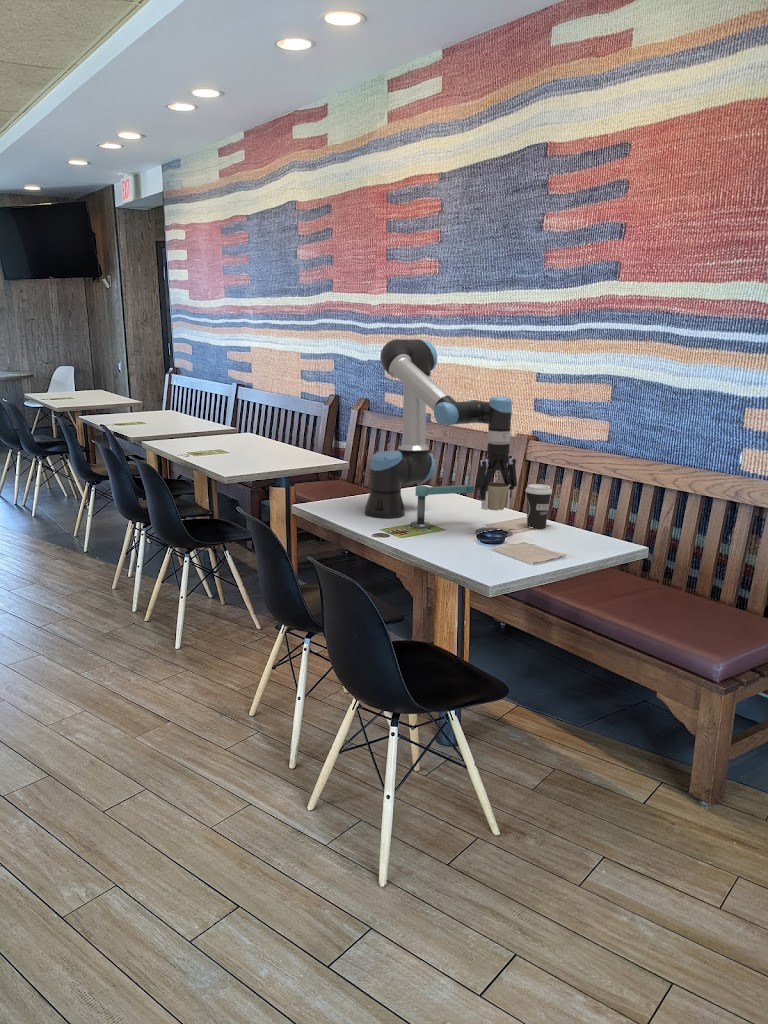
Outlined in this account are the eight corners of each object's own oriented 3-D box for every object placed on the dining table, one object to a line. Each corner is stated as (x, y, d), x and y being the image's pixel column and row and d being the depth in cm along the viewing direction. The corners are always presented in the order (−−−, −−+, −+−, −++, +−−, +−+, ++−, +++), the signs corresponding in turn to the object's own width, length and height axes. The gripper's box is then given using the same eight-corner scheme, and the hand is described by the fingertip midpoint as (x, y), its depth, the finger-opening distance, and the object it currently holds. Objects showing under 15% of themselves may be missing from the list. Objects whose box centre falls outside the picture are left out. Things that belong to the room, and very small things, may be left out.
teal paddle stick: (418, 496, 290) (418, 488, 289) (413, 494, 294) (413, 485, 293) (474, 493, 298) (475, 485, 297) (469, 491, 302) (469, 483, 301)
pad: (467, 530, 291) (467, 529, 291) (498, 527, 297) (498, 526, 296) (488, 539, 279) (488, 538, 279) (520, 535, 285) (520, 534, 285)
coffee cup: (528, 530, 293) (531, 488, 290) (519, 524, 302) (521, 483, 299) (553, 529, 295) (557, 488, 292) (543, 523, 304) (546, 483, 301)
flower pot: (505, 506, 291) (507, 482, 289) (511, 512, 282) (513, 487, 280) (479, 505, 290) (480, 481, 288) (484, 511, 281) (485, 486, 279)
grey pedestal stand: (407, 524, 296) (408, 494, 294) (424, 523, 300) (425, 493, 297) (416, 529, 290) (417, 498, 288) (433, 527, 294) (435, 497, 291)
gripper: (478, 445, 273) (475, 512, 278) (530, 443, 283) (526, 508, 288) (466, 442, 280) (463, 508, 284) (517, 440, 289) (513, 503, 294)
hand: (495, 508), depth 286 cm, fingers closed on flower pot, 8 cm apart
